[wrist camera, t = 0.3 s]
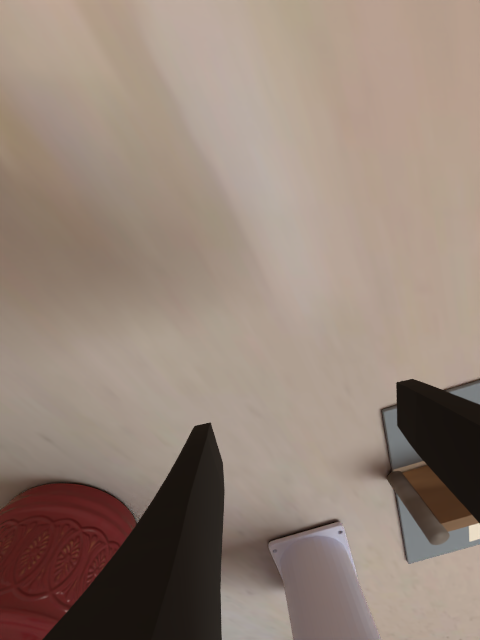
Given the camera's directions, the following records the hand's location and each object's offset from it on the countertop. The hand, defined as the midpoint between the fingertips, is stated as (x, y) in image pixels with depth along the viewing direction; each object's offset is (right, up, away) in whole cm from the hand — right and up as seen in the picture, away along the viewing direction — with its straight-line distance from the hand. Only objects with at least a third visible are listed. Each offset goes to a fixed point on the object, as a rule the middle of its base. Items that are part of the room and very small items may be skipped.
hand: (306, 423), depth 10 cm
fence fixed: (+16, -10, +14) cm, 24 cm away
